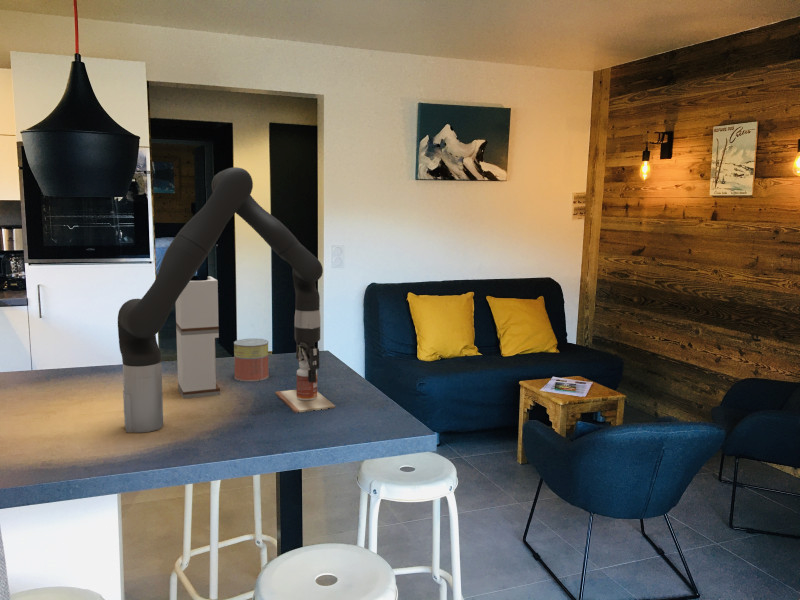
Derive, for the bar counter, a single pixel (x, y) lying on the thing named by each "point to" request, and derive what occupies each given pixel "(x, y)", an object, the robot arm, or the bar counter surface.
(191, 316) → the white square tower
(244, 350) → the canned food
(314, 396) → the pill bottle
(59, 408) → the bar counter surface
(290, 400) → the board
